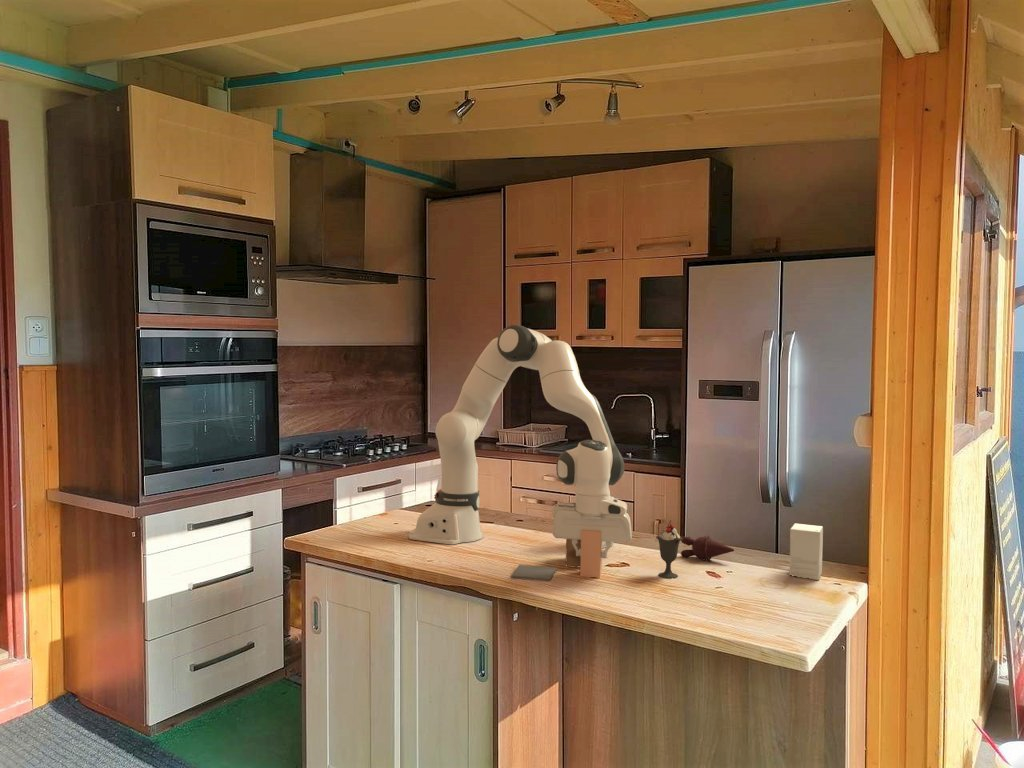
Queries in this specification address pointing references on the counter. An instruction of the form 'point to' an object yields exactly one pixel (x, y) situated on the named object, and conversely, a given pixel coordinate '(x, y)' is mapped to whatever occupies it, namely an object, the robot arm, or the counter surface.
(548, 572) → the grey mat
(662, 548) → the sundae
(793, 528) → the supplement box
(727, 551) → the icecream
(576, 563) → the lettered block
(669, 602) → the counter surface
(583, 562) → the terracotta pillar
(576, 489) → the robot arm
